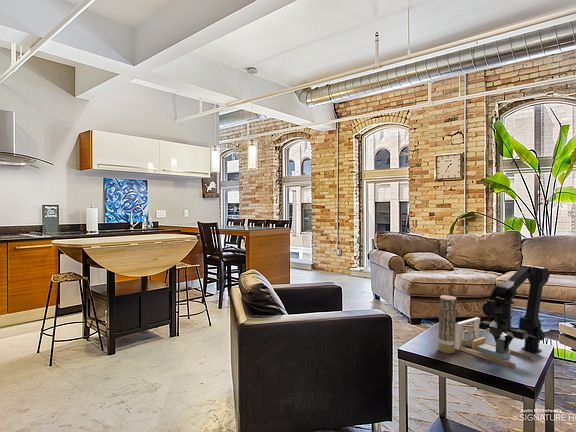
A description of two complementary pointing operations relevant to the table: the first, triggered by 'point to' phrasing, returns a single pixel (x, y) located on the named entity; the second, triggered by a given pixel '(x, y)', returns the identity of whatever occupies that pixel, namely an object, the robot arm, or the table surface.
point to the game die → (468, 338)
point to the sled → (492, 348)
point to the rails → (495, 357)
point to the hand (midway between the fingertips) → (502, 348)
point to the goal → (459, 330)
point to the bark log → (447, 324)
